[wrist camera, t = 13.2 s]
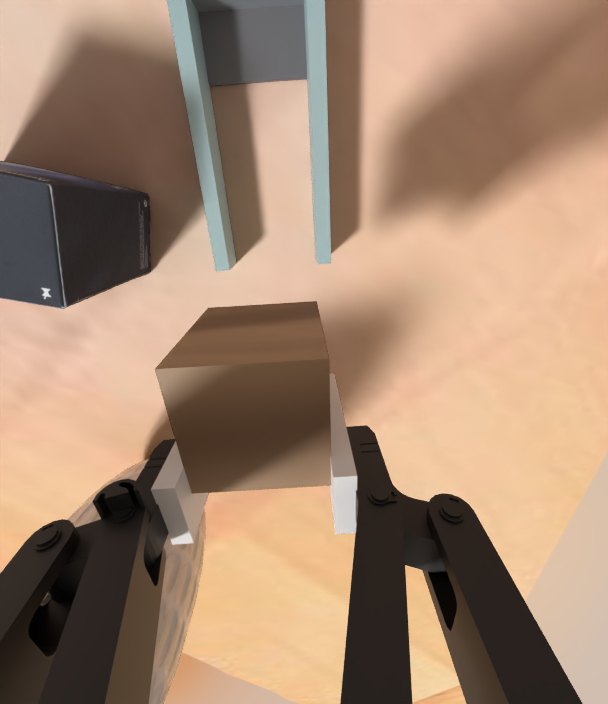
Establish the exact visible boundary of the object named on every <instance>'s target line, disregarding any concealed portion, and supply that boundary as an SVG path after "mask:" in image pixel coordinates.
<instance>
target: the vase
mask: <svg viewBox="0 0 608 704" xmlns="http://www.w3.org/2000/svg"><path fill="white" fill-rule="evenodd" d="M147 461H149V458H148V459H146V460H144V461H141V462H139V463H137V464H135V465H133V466H131V467H129V468H128V469H126V470H124V471H123V472H121V473H120V474H118V475H117V476H116V477H114V478H113V479H111V480H110V481H108V482H107V483H106V484H105V485H104V486H102V487H101V488H100V489H99V490H98V491H97V492H95V493H94V494H93V495H92V496H91V497H90V498H88V499H87V500H86V501H85V502H84V503H83V504H82V505H81V506H80V507H79V508H78V509H77V510H76V511H75V512H74V513H73V514H72V515H71V516H70V517H69V518H68V519H67V520H70V521H71V522H72V523H73V524H74V526H75V528H76V527H79V526H82V525H85V524H88V523H91V522H94V521H97V520H99V519H101V518H100V516H99V514H98V512H97V510H96V508H95V506H94V504H93V502H92V501H93V499H94V498H95V496H96V495H97V494H98V493H99V492H100V491H101V490H102V489H103V488H104V487H106V486H108V485H109V484H111V483H113V482H116V481H118V480H122V479H131V480H135V481H136V480H137V478H138V476H139V475H140V473H141V471H142V470H143V469H144V466H145V464H146V463H147ZM205 538H206V527H205V508H204V511H203V514H202V517H201V520H200V524H199V527H198V530H197V534H196V537H195V540H194V543H189V544H174V545H172V543H171V540H170V538H169V535H168V536H167V539H166V542H165V544H164V549H165V551H166V563H165V572H164V580H163V588H162V597H161V605H160V613H159V622H158V630H157V638H156V647H155V655H154V663H153V672H152V680H151V688H150V697H149V704H164V701H165V699H166V696H167V693H168V691H169V688H170V686H171V682H172V680H173V677H174V675H175V672H176V669H177V666H178V662H179V659H180V656H181V652H182V649H183V646H184V642H185V639H186V635H187V632H188V628H189V624H190V620H191V617H192V613H193V609H194V605H195V601H196V597H197V592H198V587H199V582H200V576H201V571H202V564H203V556H204V547H205ZM47 594H48V593H47ZM47 594H46V596H47ZM46 596H45V597H46ZM44 599H45V598H44ZM44 599H43V600H44Z"/></svg>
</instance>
